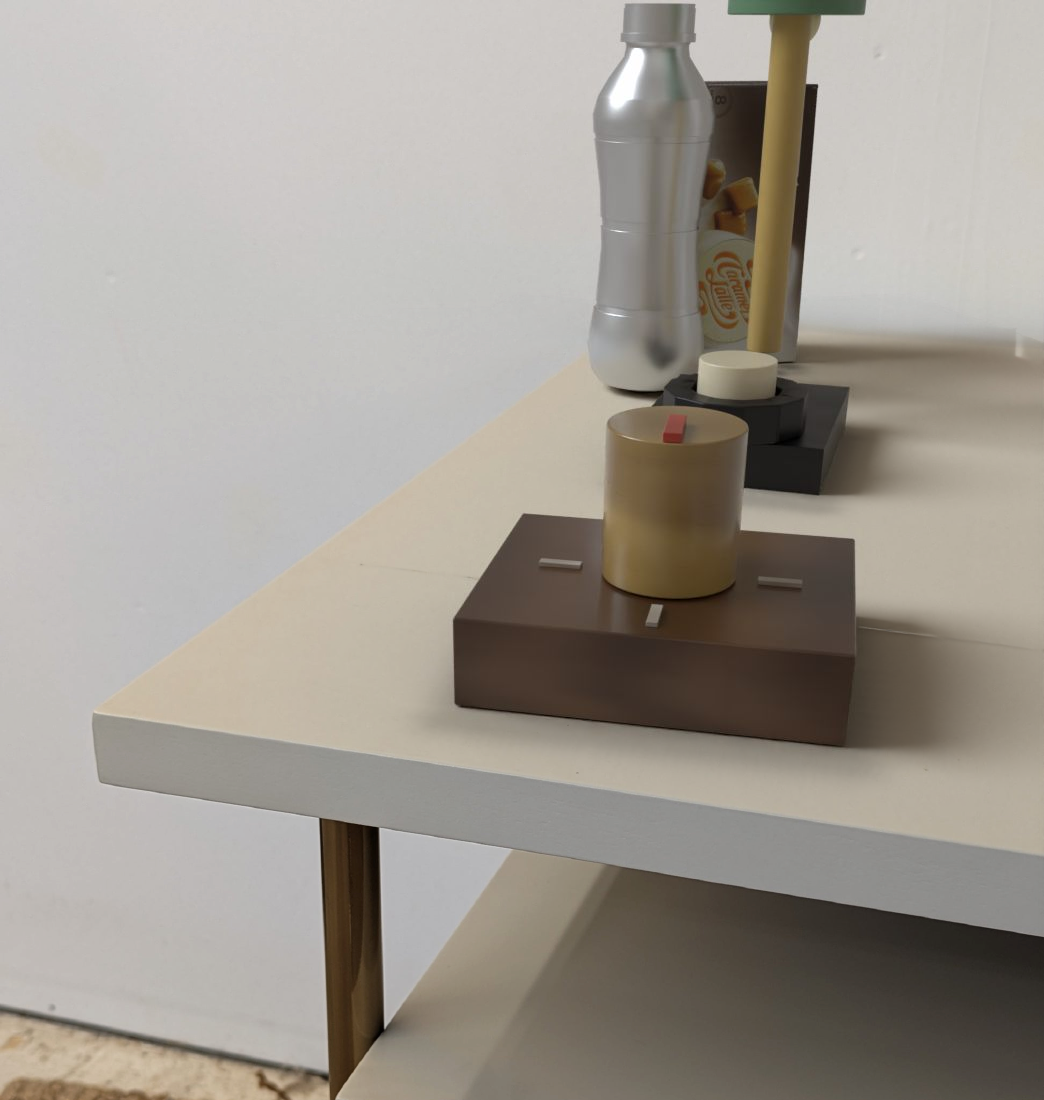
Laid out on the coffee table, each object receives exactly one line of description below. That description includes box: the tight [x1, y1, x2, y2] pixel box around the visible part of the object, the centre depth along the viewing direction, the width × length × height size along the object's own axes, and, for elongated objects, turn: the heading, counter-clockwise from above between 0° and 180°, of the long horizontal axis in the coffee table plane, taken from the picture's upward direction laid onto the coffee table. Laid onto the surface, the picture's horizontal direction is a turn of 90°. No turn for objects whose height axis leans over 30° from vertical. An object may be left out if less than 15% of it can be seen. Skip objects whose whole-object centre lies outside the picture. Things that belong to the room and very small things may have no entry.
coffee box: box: [698, 80, 819, 363], centre depth 82 cm, size 9×6×16 cm
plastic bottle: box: [587, 2, 716, 393], centre depth 73 cm, size 6×7×20 cm
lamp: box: [726, 0, 867, 353], centre depth 65 cm, size 6×6×20 cm
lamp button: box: [697, 350, 779, 400], centre depth 62 cm, size 4×4×2 cm
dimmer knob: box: [601, 406, 749, 599], centre depth 42 cm, size 4×4×5 cm
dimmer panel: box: [452, 512, 857, 747], centre depth 44 cm, size 12×10×3 cm
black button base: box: [650, 373, 851, 496], centre depth 65 cm, size 13×9×4 cm
